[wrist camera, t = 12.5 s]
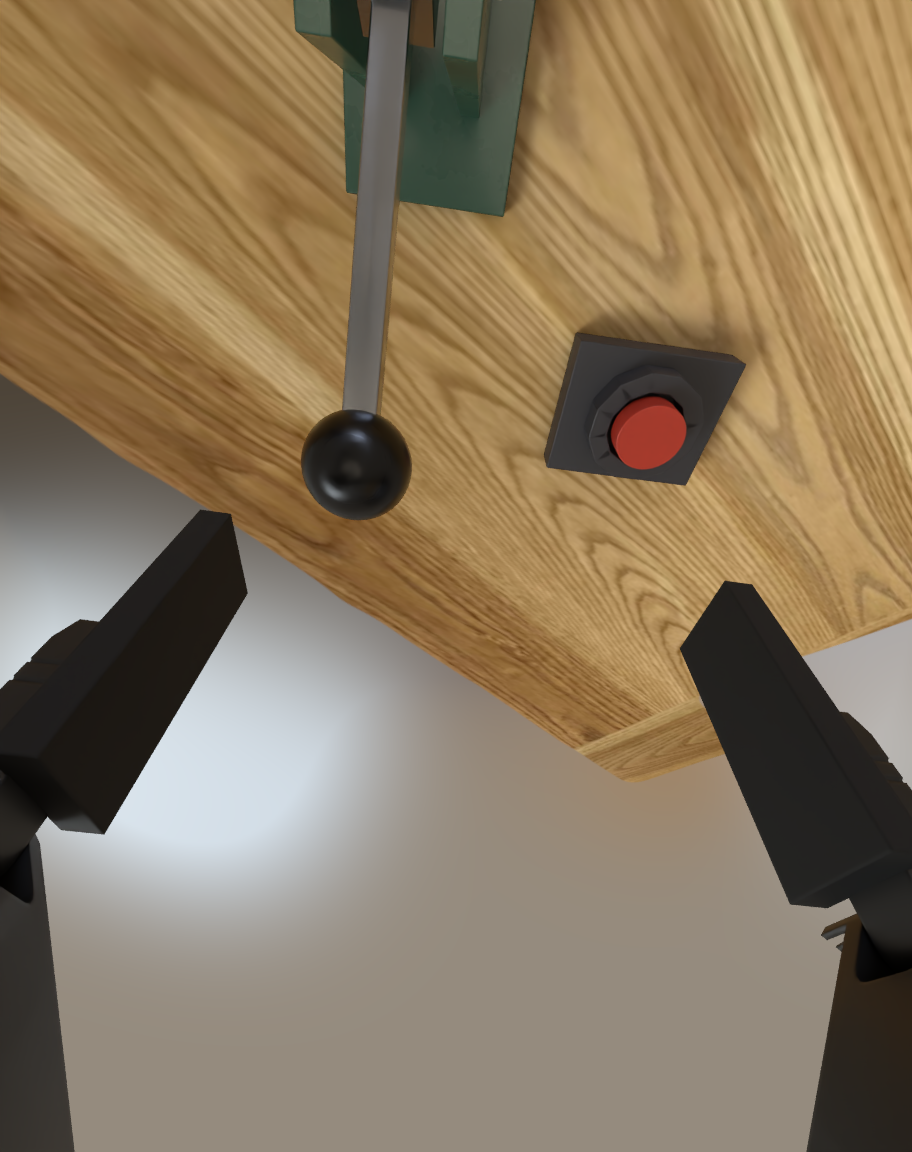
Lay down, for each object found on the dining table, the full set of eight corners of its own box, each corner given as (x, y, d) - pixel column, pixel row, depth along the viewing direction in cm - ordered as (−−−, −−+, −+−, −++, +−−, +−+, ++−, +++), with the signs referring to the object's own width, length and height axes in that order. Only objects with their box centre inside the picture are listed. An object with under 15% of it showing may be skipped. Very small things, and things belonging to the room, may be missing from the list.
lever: (409, 521, 18) (401, 532, 14) (315, 509, 17) (282, 517, 14) (468, -40, 14) (475, -211, 11) (350, -61, 14) (317, -242, 10)
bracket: (503, 215, 27) (520, 241, 15) (350, 192, 27) (245, 199, 15) (555, -141, 20) (675, -661, 7) (341, -183, 19) (105, -803, 7)
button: (602, 453, 33) (607, 465, 32) (624, 391, 30) (630, 401, 29) (662, 461, 33) (669, 473, 32) (689, 400, 30) (699, 410, 29)
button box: (543, 455, 37) (549, 479, 34) (575, 332, 31) (586, 348, 28) (676, 472, 37) (693, 498, 34) (732, 354, 32) (759, 373, 29)
